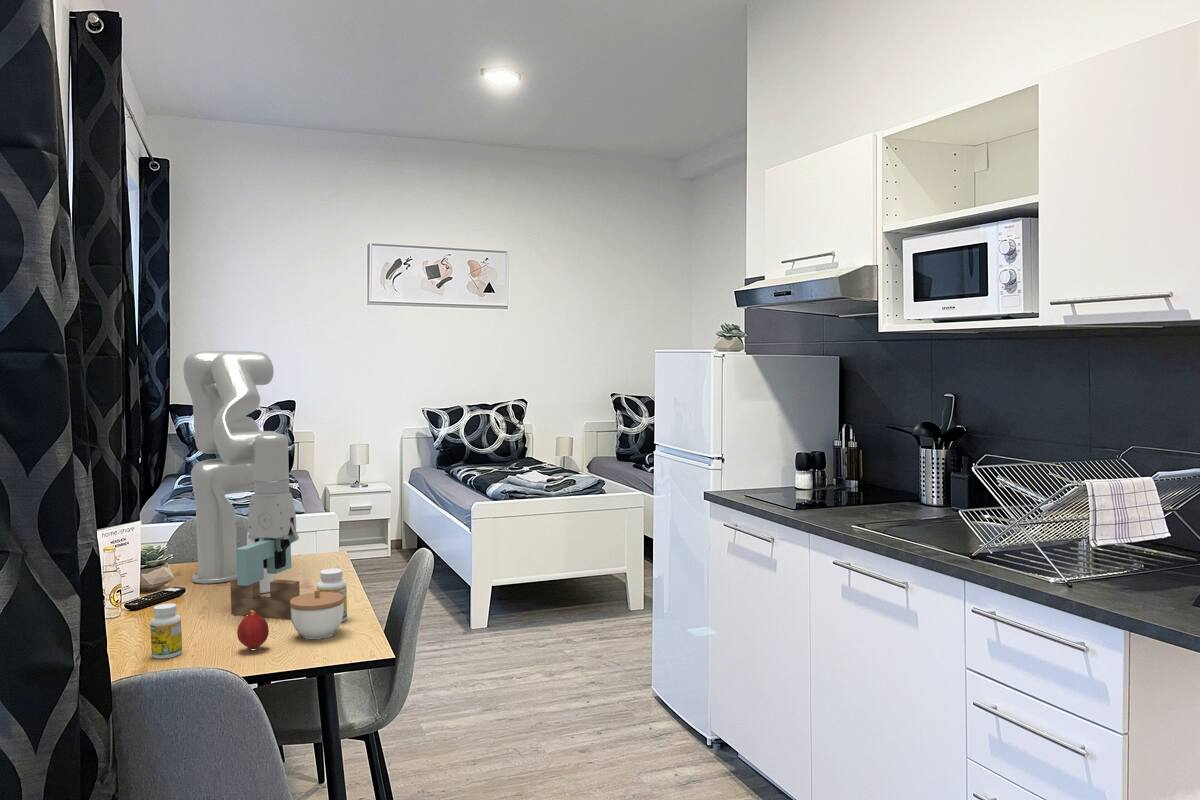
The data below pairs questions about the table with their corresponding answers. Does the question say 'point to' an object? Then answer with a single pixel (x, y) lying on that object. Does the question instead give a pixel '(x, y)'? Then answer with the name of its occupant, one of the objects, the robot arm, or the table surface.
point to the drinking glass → (267, 576)
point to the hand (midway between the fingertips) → (274, 566)
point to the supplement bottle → (166, 632)
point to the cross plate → (258, 561)
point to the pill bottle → (334, 585)
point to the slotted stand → (264, 598)
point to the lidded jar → (317, 613)
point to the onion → (253, 630)
